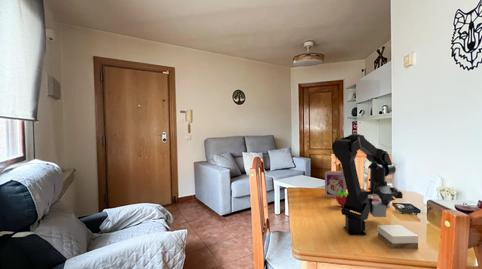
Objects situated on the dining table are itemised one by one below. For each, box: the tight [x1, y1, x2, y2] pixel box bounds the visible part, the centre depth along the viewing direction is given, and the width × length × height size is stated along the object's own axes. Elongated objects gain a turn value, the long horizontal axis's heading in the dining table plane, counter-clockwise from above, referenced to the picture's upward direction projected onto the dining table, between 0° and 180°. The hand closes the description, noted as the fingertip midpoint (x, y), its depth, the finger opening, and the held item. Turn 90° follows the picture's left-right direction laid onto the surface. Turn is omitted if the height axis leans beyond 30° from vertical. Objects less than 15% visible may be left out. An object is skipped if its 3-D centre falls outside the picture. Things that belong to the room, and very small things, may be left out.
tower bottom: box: [377, 232, 419, 250], centre depth 86 cm, size 9×9×2 cm
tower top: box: [377, 224, 419, 244], centre depth 86 cm, size 9×9×2 cm
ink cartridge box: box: [371, 176, 393, 208], centre depth 124 cm, size 9×5×15 cm, turn 47°
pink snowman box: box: [324, 170, 347, 198], centre depth 140 cm, size 11×7×15 cm, turn 67°
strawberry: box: [335, 188, 348, 207], centre depth 122 cm, size 6×7×10 cm
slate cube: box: [369, 202, 387, 218], centre depth 103 cm, size 5×5×5 cm
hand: (377, 212), depth 104 cm, fingers closed on slate cube, 5 cm apart
